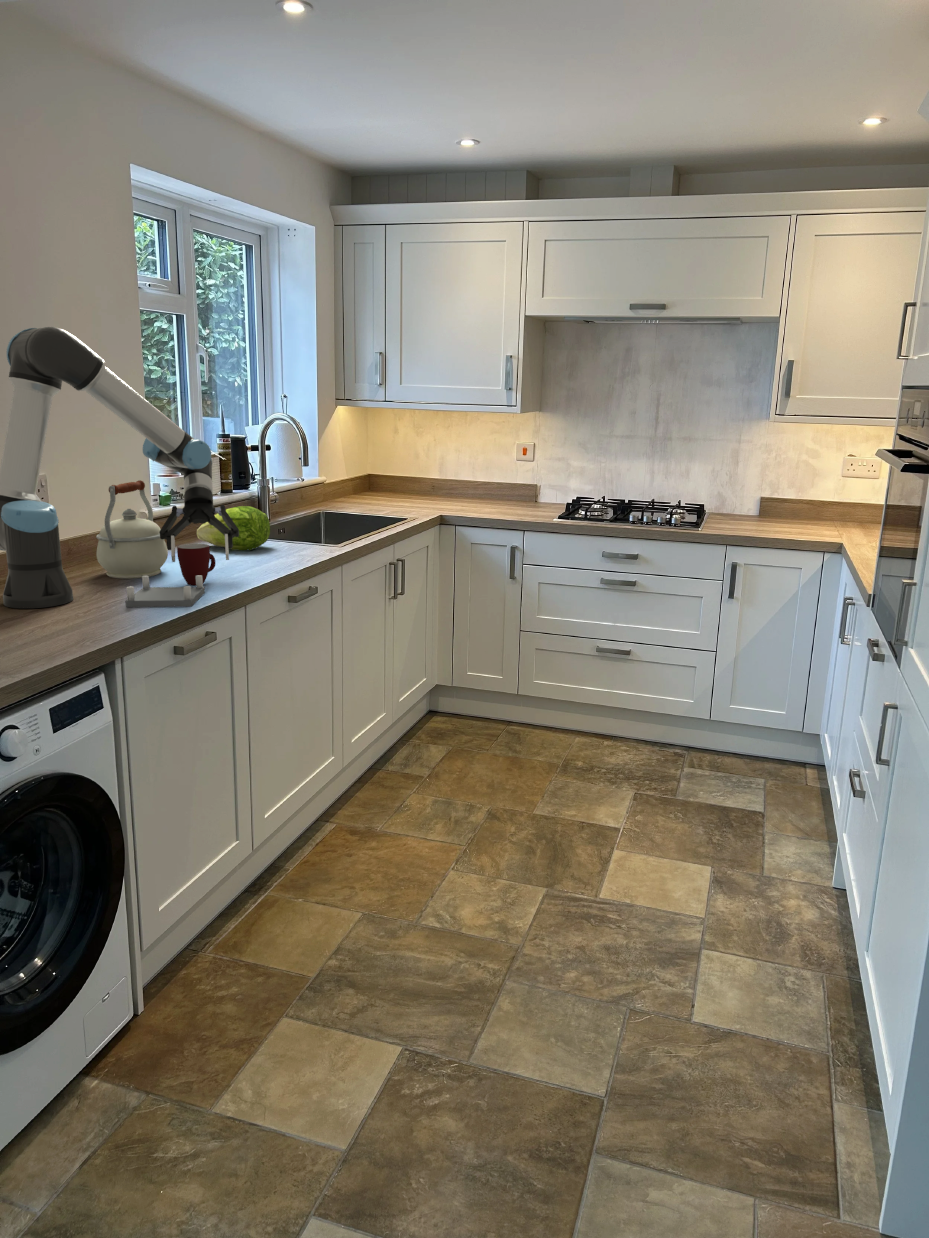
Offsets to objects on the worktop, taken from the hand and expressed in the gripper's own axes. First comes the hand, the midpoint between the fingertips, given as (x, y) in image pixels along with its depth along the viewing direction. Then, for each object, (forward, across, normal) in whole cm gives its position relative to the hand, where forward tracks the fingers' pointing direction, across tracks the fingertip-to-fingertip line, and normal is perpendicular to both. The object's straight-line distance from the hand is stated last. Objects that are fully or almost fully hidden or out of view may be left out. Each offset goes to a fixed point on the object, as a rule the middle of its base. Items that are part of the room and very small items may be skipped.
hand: (200, 558), depth 242 cm
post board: (+18, +8, +9) cm, 22 cm away
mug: (+5, +1, -4) cm, 7 cm away
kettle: (-8, +18, -17) cm, 26 cm away
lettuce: (-34, -8, -43) cm, 55 cm away
